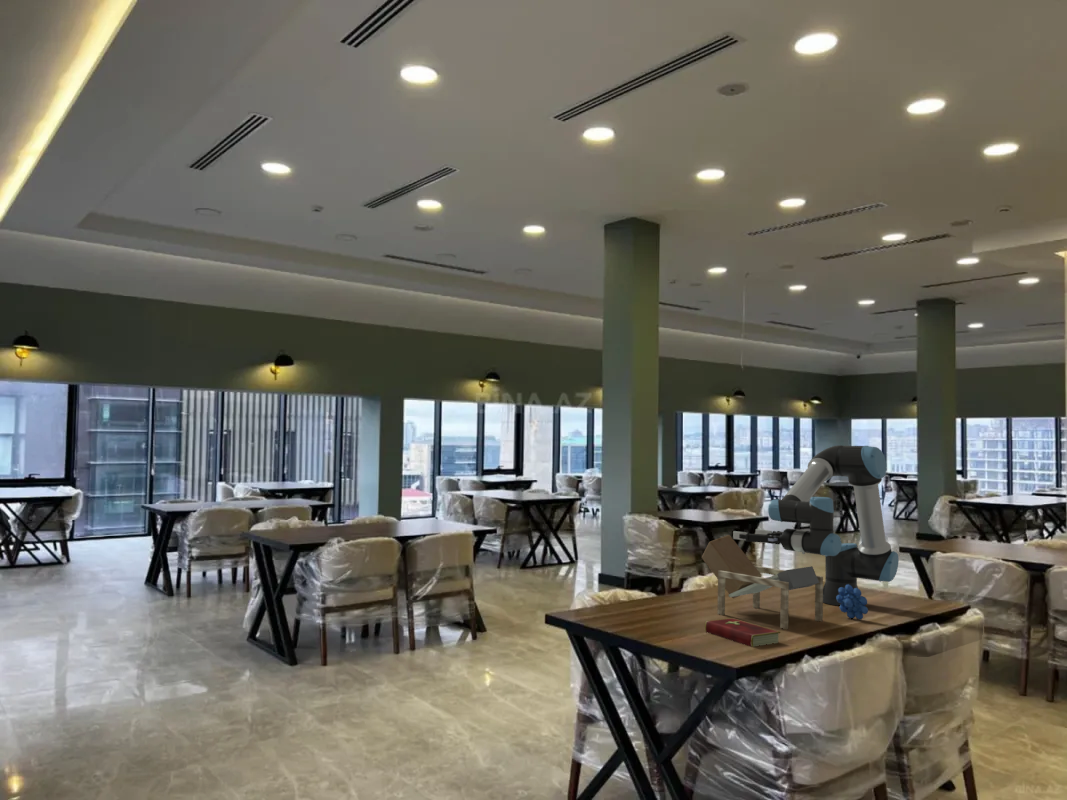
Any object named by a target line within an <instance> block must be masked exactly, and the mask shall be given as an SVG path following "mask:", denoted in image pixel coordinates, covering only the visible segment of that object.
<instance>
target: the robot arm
mask: <svg viewBox="0 0 1067 800" xmlns="http://www.w3.org/2000/svg"><path fill="white" fill-rule="evenodd" d="M886 467H887V463H886V457H885V455H884V453H883V451H882V450H881V449H880V448H879V447H877V446H869V445H843V444H842V445H841V444H840V445H833V446H831V447H830V446H829V447H828V448H824V449H823V450H822V451H820V452H818V453H817V454H816V455H814V456H813V457H812V458H811V459H810V460H809V462H808V463H807V469H806V470H805V471H804V472H803V473H802V474H801V475H800V477H799V478H798V479H797V481H795V483H794V484H793V486H791V488H790V489H789V490H788V492H786V494H785V495H784V496H783V497H782V498H781V499H780V498H777V499H772V500H770V502H769V504H768V506H767V508H768V509H767V513H768V515H769V519H771V520H772V521H775V522H776V521H777V522H781V523H793V524H803V525H804V524H808V525H809V530H805V529H794V528H785V529H784V530H783V531H782V530H781V531H780V530H776V531H775V530H773V531H772V530H765V529H758V528H756V529H755V533H750V531H747V532H745V531H736V530H733V532H732V534H733V537H732V539H733V540H740V541H745V542H751V543H763V544H764V543H765V544H771V545H772V544H775V545H781V546H782V548H783V549H784V550H785V551H790V552H798V553H799V552H800V553H801V554H802V555H805V554H813V555H819V556H824V557H825V561H824V562H825V564H824V565H825V571H824V572H825V573H824V574H825V582H824V583H823V604H827V605H830V606H831V605H832V606H838V605H840V604H841V603H838V602H837V600H836V596H837V595H840V594H839V592H838V589H839V588H840V587H843V588H845V586H846V585H848V584H849V585H851V586H852V587H853V589H854V588H858V589H859V586H858V579H861V580H862V579H863V580H868V581H869V580H870V581H876V582H877V581H878V582H880V583H881V582H885V583H886V582H887V583H888V582H892V581H893V580H894V579H895V577H896V575H897V571H898V570H899V569H898V567H899V560H900V559H899V554H898V552H897V551H894V550H892V545H891V544H890V543H889V542H887V540H886V539H887V538H886V533H885V526H884V524H885V523H884V519H883V518H884V517H883V510H882V509H883V508H882V504H881V496H880V488H879V484H880V483H881V482H882V480H883V478H884V477H885V476H886V474H887V468H886ZM832 477H845V478H847V479H848V481H847V482H848V484H849V485H850V486H852V487H853V491H854V498H855V504H856V506H855V507H856V512H857V520H858V527H859V534H860V541H861V543H860V544H859V545H858V544H857V543H852V542H849V543H848V542H847V543H844V542H843V543H842V540H841V536H840V535H839V534H837V533H834V520H835V519H834V514H835V510H834V501H833V499H832V498H831V497H827V496H814V495H815V494H816V493H817V492H818V490H819V489H820V488H821V486H822V485H823V484H824V482H827V481H829V480H830V479H831V478H832Z"/></svg>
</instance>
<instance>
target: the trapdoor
mask: <svg viewBox="0 0 1067 800" xmlns="http://www.w3.org/2000/svg"><path fill="white" fill-rule="evenodd" d="M784 570H785V569H784ZM817 576H818V575H817V574H816V571H815V569H814V567H813V566H811V565H810V566H805V567H798V568H792V569H786V570H785V571H783V572H781V573H778V574H776V575H772V576H770V577H766V578H767V579H773V580H778V581H784V582H789V591H791V590H797V589H803V588H809V587H812V586H815V584H817V583H819V581H818V578H817ZM772 587H773V586H768V585H762V584H757V583H754V584H752V585H749V586H747V587H745V588H743V589H740V590H738V591H736V592H733V593H731V594H729V593H728V597H729V598H732V597H734V596H738V597H741V596H745V595H750V594H751V595H753V593H758V592H760V593H762V592H763V591H765V590H769V589H770V588H772ZM773 588H774V587H773ZM740 595H741V596H740Z"/></svg>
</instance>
